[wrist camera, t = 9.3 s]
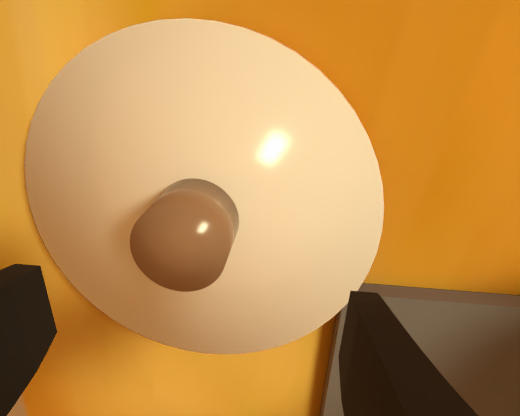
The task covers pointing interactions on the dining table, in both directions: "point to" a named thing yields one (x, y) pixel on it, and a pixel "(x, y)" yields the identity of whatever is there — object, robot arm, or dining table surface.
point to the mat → (451, 344)
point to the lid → (204, 186)
